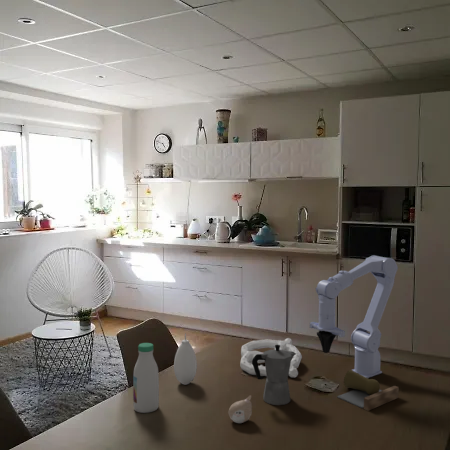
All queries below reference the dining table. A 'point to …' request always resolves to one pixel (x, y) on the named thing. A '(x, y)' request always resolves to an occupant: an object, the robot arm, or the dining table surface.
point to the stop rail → (380, 398)
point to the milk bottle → (145, 381)
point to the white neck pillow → (249, 354)
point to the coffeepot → (275, 375)
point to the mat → (355, 397)
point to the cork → (361, 382)
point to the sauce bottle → (185, 363)
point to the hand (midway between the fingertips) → (326, 352)
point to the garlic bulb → (241, 410)
